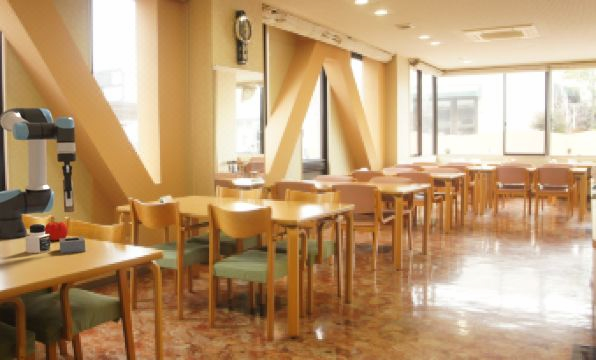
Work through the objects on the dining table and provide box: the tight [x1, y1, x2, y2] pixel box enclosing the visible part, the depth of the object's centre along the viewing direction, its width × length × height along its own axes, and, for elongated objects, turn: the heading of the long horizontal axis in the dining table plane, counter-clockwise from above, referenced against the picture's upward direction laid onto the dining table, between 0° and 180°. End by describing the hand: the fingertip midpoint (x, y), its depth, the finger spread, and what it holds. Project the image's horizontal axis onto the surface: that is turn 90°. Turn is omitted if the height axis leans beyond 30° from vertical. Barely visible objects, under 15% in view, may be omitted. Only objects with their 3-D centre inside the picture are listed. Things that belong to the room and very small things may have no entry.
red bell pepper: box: [44, 221, 68, 241], centre depth 267 cm, size 11×11×9 cm
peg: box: [62, 179, 75, 213], centre depth 243 cm, size 4×4×14 cm
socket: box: [58, 236, 86, 255], centre depth 242 cm, size 10×10×5 cm
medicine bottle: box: [24, 223, 51, 254], centre depth 241 cm, size 7×7×12 cm
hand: (69, 205), depth 243 cm, fingers closed on peg, 4 cm apart
